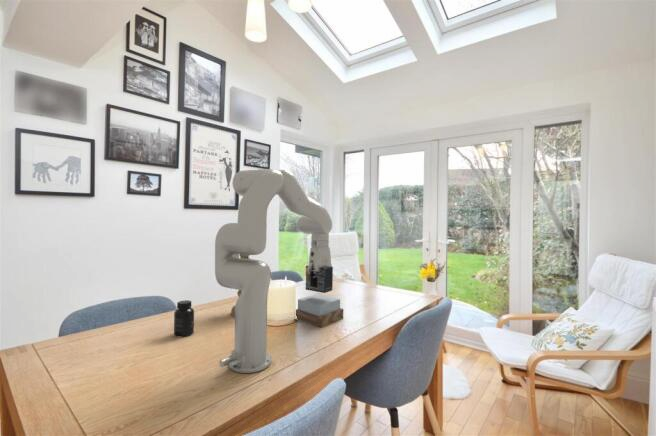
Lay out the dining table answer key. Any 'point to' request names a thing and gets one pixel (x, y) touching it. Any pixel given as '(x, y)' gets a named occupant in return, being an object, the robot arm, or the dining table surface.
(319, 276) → the small box
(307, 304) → the tower top
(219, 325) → the dining table surface
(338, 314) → the tower base
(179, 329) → the supplement bottle
